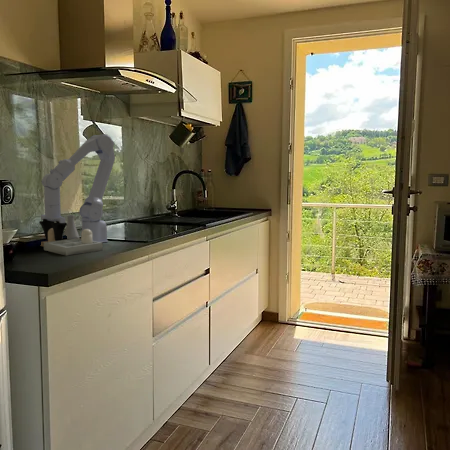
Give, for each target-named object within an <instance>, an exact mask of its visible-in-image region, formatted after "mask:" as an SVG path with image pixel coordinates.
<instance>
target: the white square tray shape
mask: <svg viewBox="0 0 450 450" xmlns="http://www.w3.org/2000/svg"><path fill="white" fill-rule="evenodd" d="M43 242H44V247H43V250H44V251H46V252H47V251H48V252H50V253H54V254H58V255H62V256H66V257H67V256H74V255H79V254H86V253H93V252H100V251H103V243H104V242H102V243H101V242H96V241H93V239H92V231H91V230H90V229H84V230H83V231H82V230H81V234H80V238H77V239H61V241H52V242H45V241H43Z"/></svg>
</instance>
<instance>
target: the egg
mask: <svg viewBox="0 0 450 450" xmlns="http://www.w3.org/2000/svg"><path fill="white" fill-rule="evenodd" d="M47 241H48V242H52V241H55V236H54V230H53V228H51V229H50V230H49V231H48V239H47Z"/></svg>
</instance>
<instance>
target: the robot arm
mask: <svg viewBox="0 0 450 450" xmlns="http://www.w3.org/2000/svg"><path fill="white" fill-rule="evenodd" d="M114 146H115V143H114V140H113V139H112V137H111V136H110V135H108V134H106V133H102V134H94V135H92V136H90V137H89V138H88V139H86V140H85V141H84V143H83V144H82V145H81V146H79V148H78V149H77V150H76V151H75V152H74V153H73V154H72V155H71V156H70V157H69V158H63V159H60V160H58V162H57V165H56V166H55V167H54V168H53V169H52V168H51V169H50V170H49V173H46V174H45V175H44V176H43V177H42V180H41V184H42V186H43V189H44V190H43V191H44V193H43V196H44V198H43V199H44V214H41V215H40V220H41V221H39V224H40V226H41V228H42V230H43V234H44V237H45V239H46V240H48V231H49V230H50V229H51V228H53V230H54V236H55V241H61V240H63V235H64V232H65V229H66V226H67V222H66V217H64V216H61V215H62V214H61V207H62V206H61V187H62V185H63V182H64V181H65V180H66V179H67V178H68V177H69V176H70V175H72V173H74V171H75V170H76V165H77V164H78V163H80V162H81V161H82V160H83V159H84V158H85V157H86V156H87V155H88V154H90V153H94V152H95V153H96V154H97V157H99V160H100V161H99V164H98V167H97V171H96V173H95V176H94V180H93V182H92V185H91V188H90V191H89V195H88V196H87V197H86V199H85V200H84V202H83V204H82V205H81V206H80V207H79V211H78V212H79V213H78V214H79V215H80V217H81V232H82V231H83V230H84V229H90V230H91V231H92V239H93V241H96V242H101V243H108V242H109V240H108V230H107V229H108V228H107V227H108V226H107V222H106V221H105V220H101V218H102V217H103V213H104V211H103V207H104V202H103V198H104V194H105V191H106V188H107V185H108V181H109V179H110V176H111V174H112V170H113V166H114V163H115V160H116V157H115V149H114Z"/></svg>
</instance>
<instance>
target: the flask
mask: <svg viewBox="0 0 450 450" xmlns="http://www.w3.org/2000/svg"><path fill="white" fill-rule="evenodd" d="M66 217H67V222H66V223H67V225H66V227H65V229H64V231H63V235H66V236H67V239H66V240H69V239H77V238H81V236H80V234H79V232H78V229H77V226H76V224H75V215H74V214H67V215H66Z"/></svg>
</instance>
